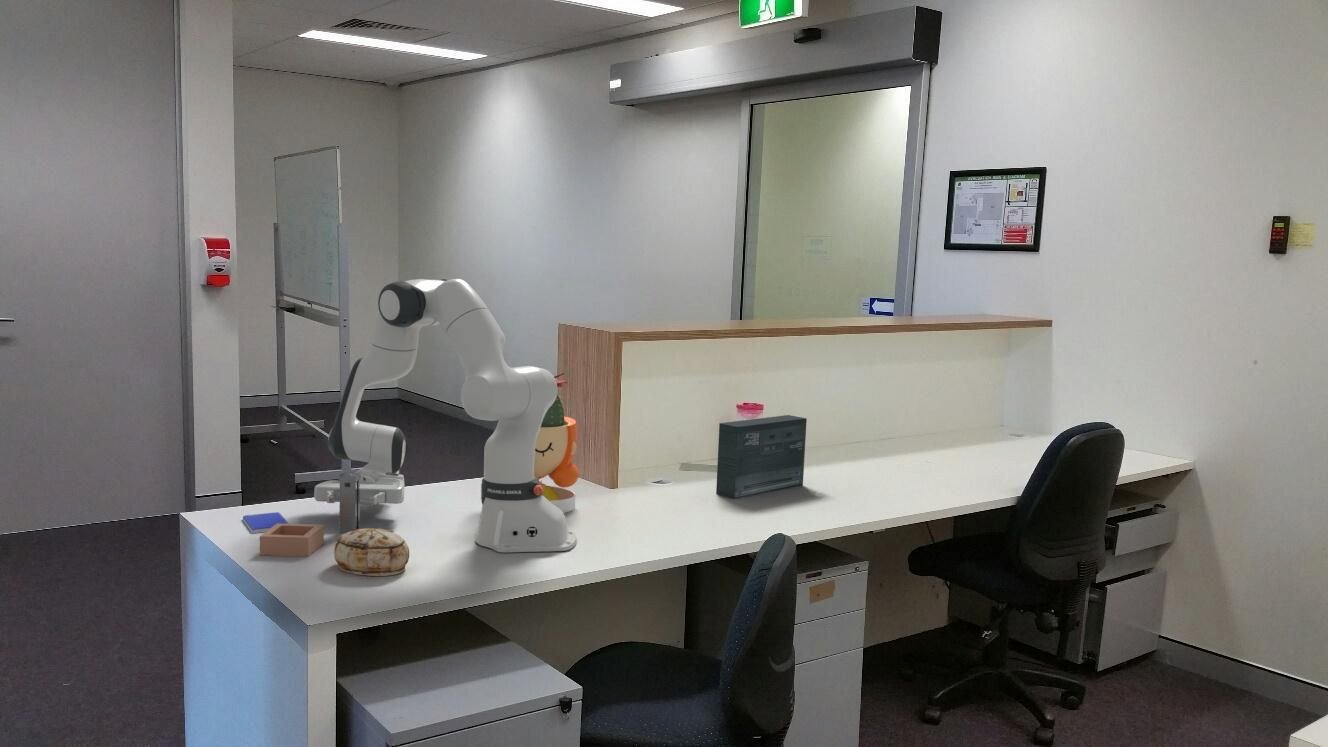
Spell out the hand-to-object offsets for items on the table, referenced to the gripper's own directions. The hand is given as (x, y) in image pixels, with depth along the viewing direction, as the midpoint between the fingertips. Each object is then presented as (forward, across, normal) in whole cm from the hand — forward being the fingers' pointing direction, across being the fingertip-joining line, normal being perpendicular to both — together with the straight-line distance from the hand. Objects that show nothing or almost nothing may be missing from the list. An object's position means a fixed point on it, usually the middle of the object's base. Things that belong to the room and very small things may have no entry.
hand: (351, 500), depth 225 cm
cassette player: (-56, +100, +8) cm, 114 cm away
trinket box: (+26, +12, +8) cm, 29 cm away
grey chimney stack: (+1, 0, +7) cm, 7 cm away
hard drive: (-3, -20, +8) cm, 22 cm away
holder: (+15, -8, +7) cm, 18 cm away
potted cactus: (-31, +39, +7) cm, 50 cm away
